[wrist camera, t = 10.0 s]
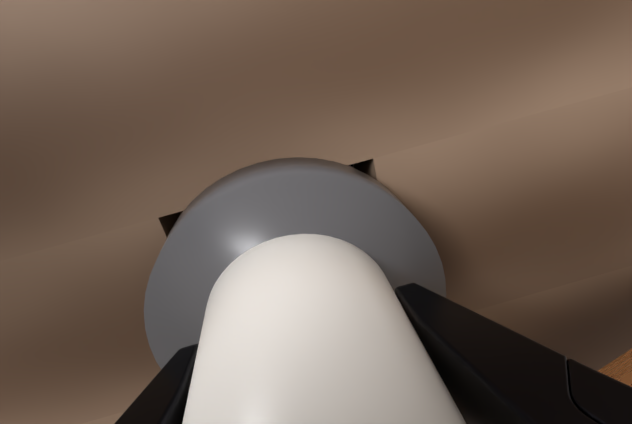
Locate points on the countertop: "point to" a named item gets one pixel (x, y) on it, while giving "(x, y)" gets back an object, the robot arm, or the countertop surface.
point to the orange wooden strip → (620, 368)
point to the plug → (298, 300)
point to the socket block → (309, 142)
